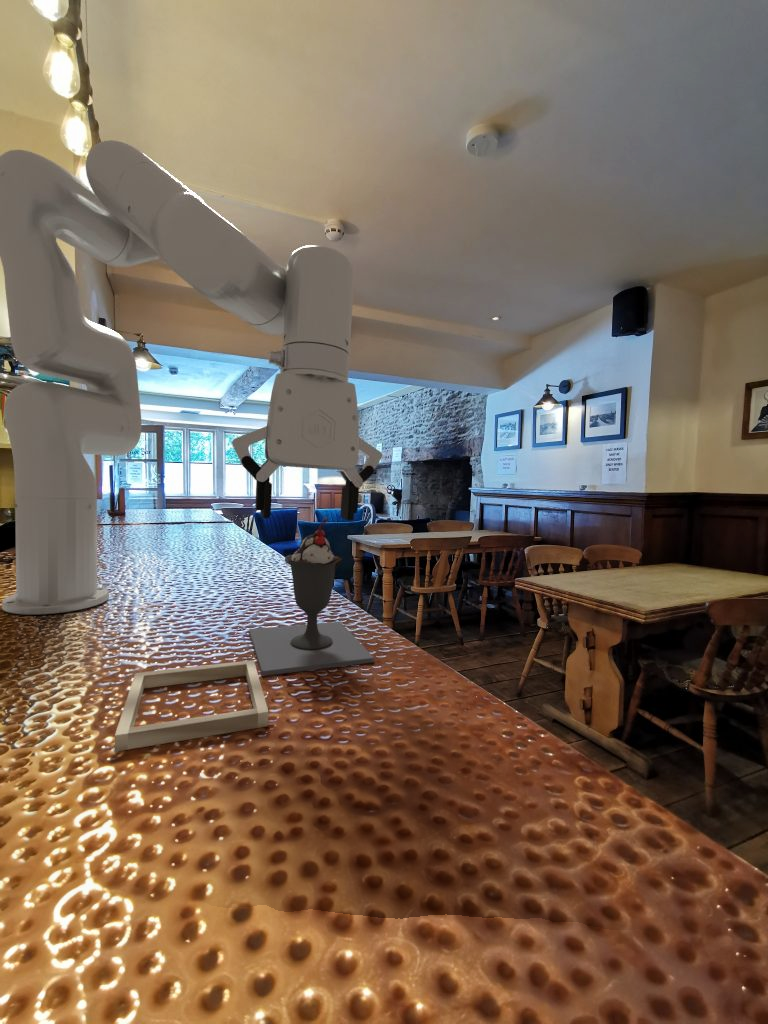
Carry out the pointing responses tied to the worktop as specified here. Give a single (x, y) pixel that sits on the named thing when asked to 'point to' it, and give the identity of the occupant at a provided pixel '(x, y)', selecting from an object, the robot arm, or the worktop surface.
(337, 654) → the bar mat
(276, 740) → the worktop surface
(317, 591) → the sundae
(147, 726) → the frame
